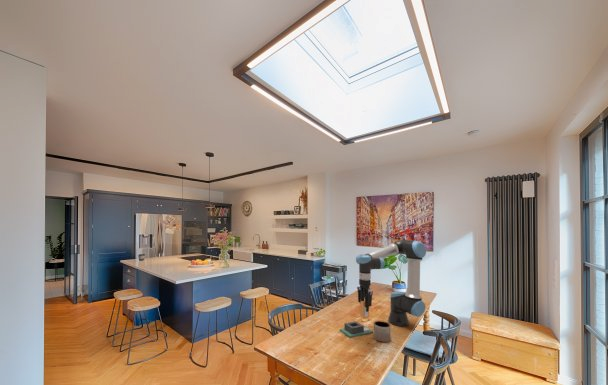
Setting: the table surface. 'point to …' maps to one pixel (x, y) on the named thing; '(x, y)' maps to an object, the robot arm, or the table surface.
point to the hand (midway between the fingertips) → (364, 315)
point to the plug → (363, 309)
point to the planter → (382, 331)
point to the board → (355, 329)
